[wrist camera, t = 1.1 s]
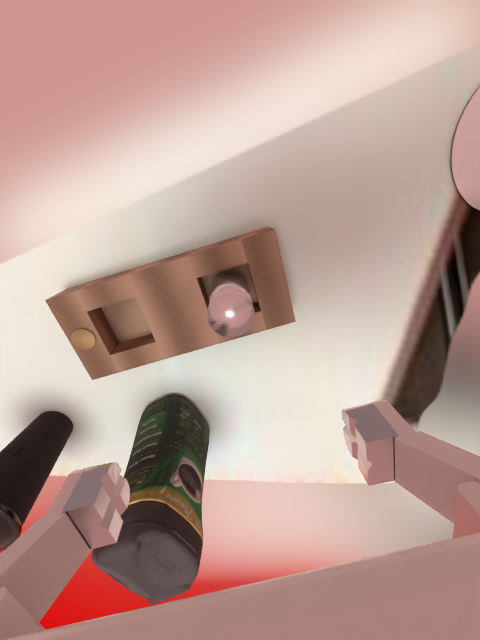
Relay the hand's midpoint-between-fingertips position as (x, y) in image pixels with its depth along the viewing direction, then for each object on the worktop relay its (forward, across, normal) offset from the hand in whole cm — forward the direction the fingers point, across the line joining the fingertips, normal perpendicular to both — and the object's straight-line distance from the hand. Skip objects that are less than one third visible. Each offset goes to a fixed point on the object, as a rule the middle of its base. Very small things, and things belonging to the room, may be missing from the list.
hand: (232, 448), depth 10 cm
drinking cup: (+26, +27, +14) cm, 40 cm away
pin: (+24, -1, 0) cm, 24 cm away
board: (+25, +5, +1) cm, 25 cm away
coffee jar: (+25, +11, +18) cm, 33 cm away
